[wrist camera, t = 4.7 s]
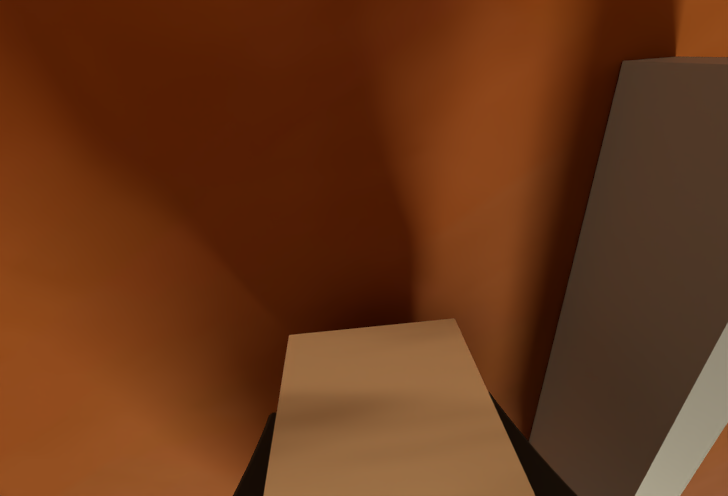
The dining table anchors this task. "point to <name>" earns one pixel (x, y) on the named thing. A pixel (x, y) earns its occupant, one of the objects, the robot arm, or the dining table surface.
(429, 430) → the cube
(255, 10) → the dining table surface
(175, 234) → the dining table surface
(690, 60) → the grey rectangular bar
